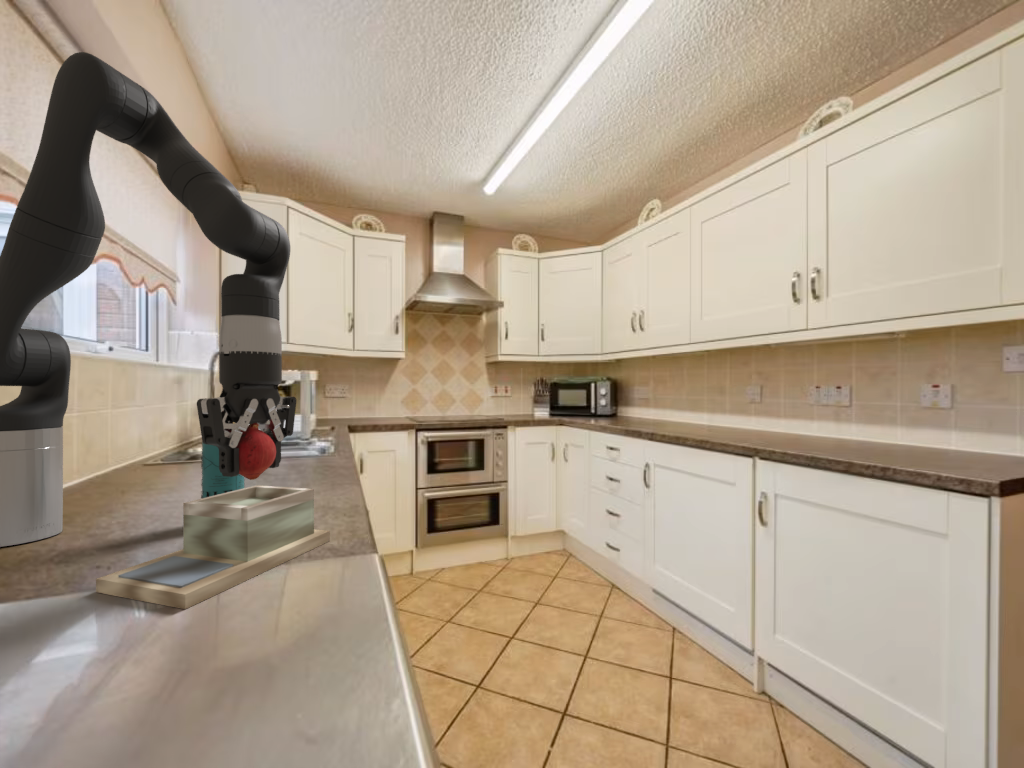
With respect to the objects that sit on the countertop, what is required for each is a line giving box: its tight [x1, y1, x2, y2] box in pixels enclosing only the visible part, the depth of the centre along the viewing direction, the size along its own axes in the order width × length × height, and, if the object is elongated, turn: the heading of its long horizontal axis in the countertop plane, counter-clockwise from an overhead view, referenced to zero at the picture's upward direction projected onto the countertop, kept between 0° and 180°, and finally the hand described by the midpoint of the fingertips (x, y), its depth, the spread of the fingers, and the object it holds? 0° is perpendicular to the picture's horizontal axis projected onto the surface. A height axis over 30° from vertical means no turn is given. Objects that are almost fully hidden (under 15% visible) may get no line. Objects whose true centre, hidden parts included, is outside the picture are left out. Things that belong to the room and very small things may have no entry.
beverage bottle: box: [200, 410, 245, 499], centre depth 75 cm, size 6×7×20 cm
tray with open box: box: [95, 484, 331, 610], centre depth 56 cm, size 14×21×8 cm, turn 162°
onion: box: [236, 423, 276, 481], centre depth 60 cm, size 6×6×8 cm
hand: (251, 471), depth 60 cm, fingers closed on onion, 6 cm apart
